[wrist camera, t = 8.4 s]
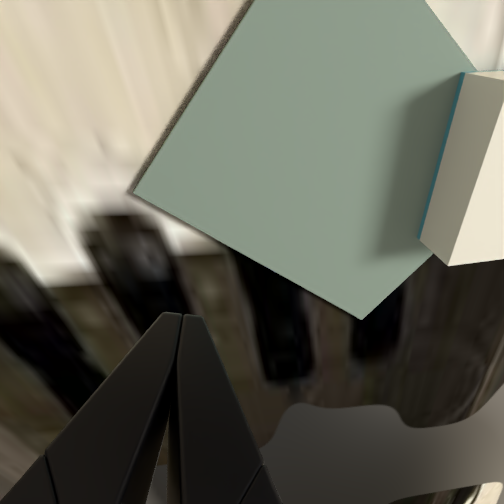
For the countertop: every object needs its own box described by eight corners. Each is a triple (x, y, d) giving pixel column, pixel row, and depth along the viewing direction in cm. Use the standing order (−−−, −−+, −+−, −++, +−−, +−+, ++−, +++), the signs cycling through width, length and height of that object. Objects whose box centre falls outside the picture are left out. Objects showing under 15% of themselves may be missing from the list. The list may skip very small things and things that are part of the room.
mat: (359, 315, 25) (361, 319, 25) (133, 189, 18) (132, 193, 17) (533, 152, 20) (540, 154, 20) (328, -119, 13) (332, -123, 12)
